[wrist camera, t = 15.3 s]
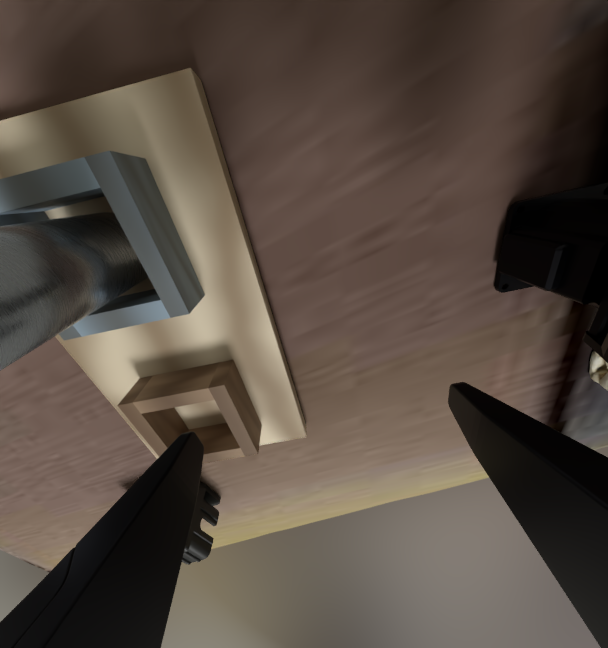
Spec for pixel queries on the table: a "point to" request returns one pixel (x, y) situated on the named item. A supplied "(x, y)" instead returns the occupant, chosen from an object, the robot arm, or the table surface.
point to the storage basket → (599, 370)
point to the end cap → (197, 539)
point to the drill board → (161, 264)
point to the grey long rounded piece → (59, 276)
